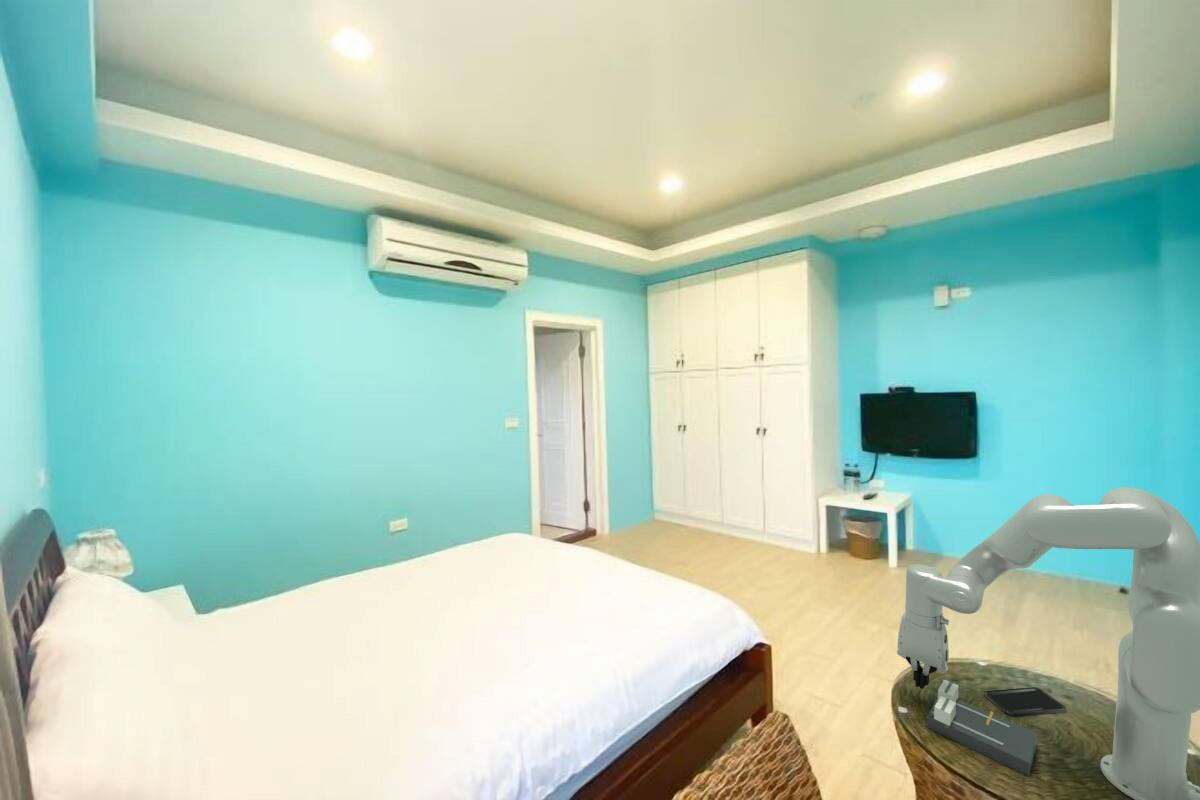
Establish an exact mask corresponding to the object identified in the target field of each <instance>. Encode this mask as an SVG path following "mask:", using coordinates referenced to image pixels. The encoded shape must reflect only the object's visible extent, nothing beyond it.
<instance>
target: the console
mask: <svg viewBox="0 0 1200 800" xmlns="http://www.w3.org/2000/svg"><path fill="white" fill-rule="evenodd" d="M937 701H938V697H937V698H936V700H935V701H934V703H933V705H932V707H931V709H929V712H928V713H927V716H926V728H927V729H929V730H931V731H933V732H935V733H938V734H939V735H942V736H943V737H945V738H948V739H950V740H952V741H953V742H956V743H957V744H960V745H962V746H965V748H966V747H967V748H969V749H971V750H972V751H975V752H977V753H979V754H981V755H983V756H985V757H988V758H989V759H992V760H994V761H996V762H998V763H1000V764H1002V765H1003V766H1006V767H1008V768H1010V769H1012V770H1015V771H1016V772H1019V773H1021V774H1023V775H1025V776H1027V777H1029V776H1030V773H1031V768H1032V765H1033V760H1034V759H1035V758H1034V757H1035V754H1036V750H1037V748H1038V732H1035V731H1033V730H1031V729H1028V728H1026V727H1023V726H1021V725H1019V724H1016V723H1015V722H1011V721H1009V720H1007V719H1004V718H1002V717H1000V716H997V715H995V714H994V713H995V712H994V711H991V710H990V712H988V711H985V710H983V709H981V708H978V707H976V706H973V705H972V704H970V703H967V702H964V701H961V700H960V699H957V700H956V714H955V716H954V718H953V720H952V722H951V724H950V726H949V725H946V724H944V723H942V722H940V721H938V720H936V719H934V707H935V705H936V703H937Z"/></svg>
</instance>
